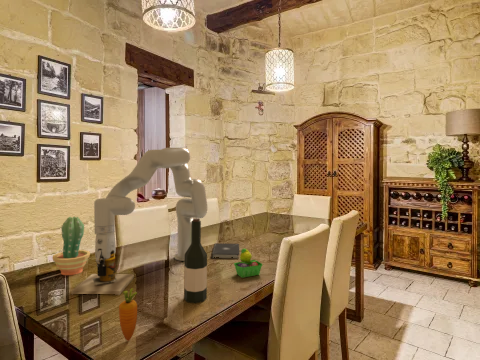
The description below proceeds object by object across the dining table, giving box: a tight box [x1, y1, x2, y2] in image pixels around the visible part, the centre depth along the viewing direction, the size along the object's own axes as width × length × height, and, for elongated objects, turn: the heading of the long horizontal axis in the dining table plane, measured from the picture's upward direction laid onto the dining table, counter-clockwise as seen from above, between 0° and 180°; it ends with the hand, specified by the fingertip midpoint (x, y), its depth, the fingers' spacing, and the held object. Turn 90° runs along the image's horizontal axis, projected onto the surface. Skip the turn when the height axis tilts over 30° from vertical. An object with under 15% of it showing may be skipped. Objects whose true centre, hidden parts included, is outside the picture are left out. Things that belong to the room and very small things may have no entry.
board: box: [70, 273, 135, 296], centre depth 128 cm, size 18×18×2 cm
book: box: [211, 242, 240, 259], centre depth 178 cm, size 22×15×3 cm
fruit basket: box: [233, 248, 263, 278], centre depth 144 cm, size 11×9×11 cm
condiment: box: [92, 250, 118, 285], centre depth 128 cm, size 7×8×12 cm
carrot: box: [118, 287, 138, 342], centre depth 89 cm, size 5×5×15 cm
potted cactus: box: [51, 216, 91, 276], centre depth 143 cm, size 15×15×25 cm
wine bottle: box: [183, 218, 208, 304], centre depth 117 cm, size 8×8×30 cm
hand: (105, 272), depth 128 cm, fingers closed on condiment, 6 cm apart
